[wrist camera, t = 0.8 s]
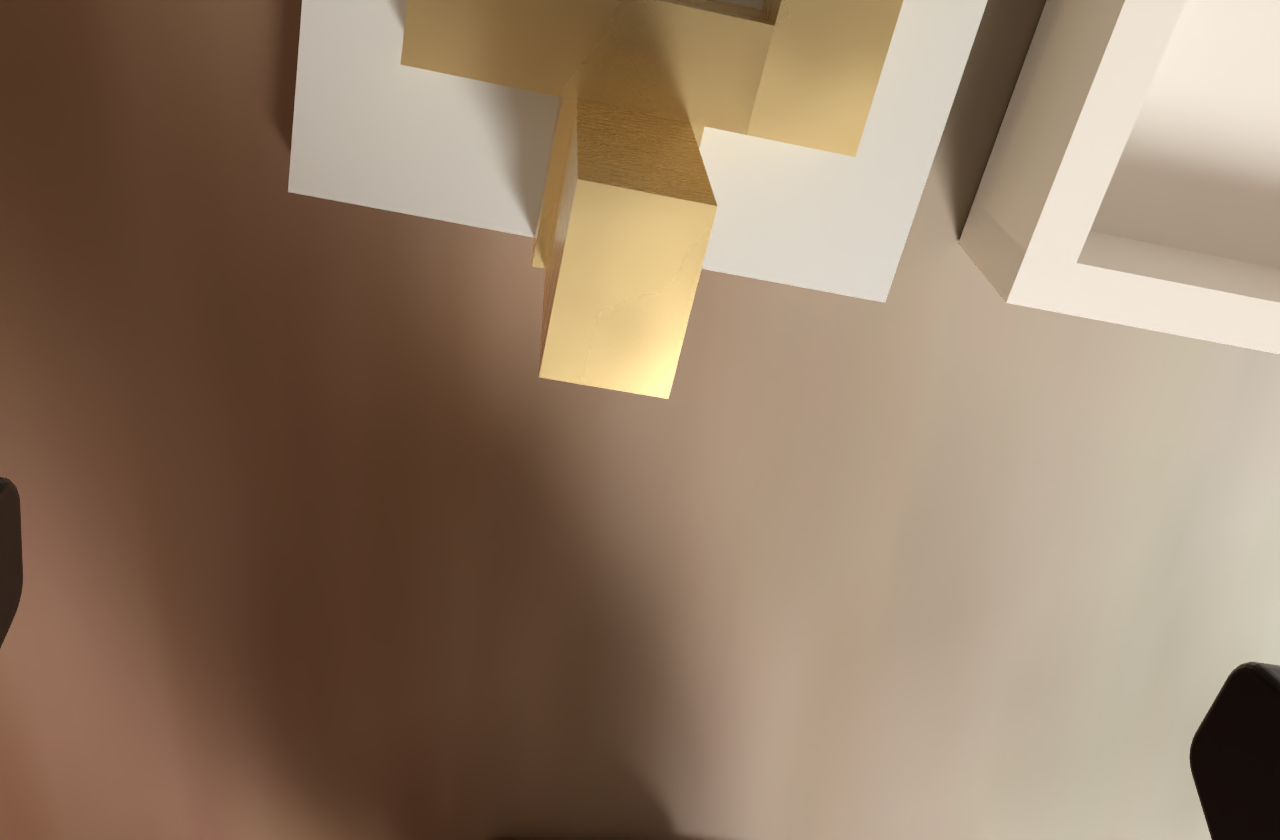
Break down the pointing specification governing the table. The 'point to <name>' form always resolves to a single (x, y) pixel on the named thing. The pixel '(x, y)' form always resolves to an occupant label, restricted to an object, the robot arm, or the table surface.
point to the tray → (1142, 170)
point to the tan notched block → (650, 142)
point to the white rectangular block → (523, 129)
